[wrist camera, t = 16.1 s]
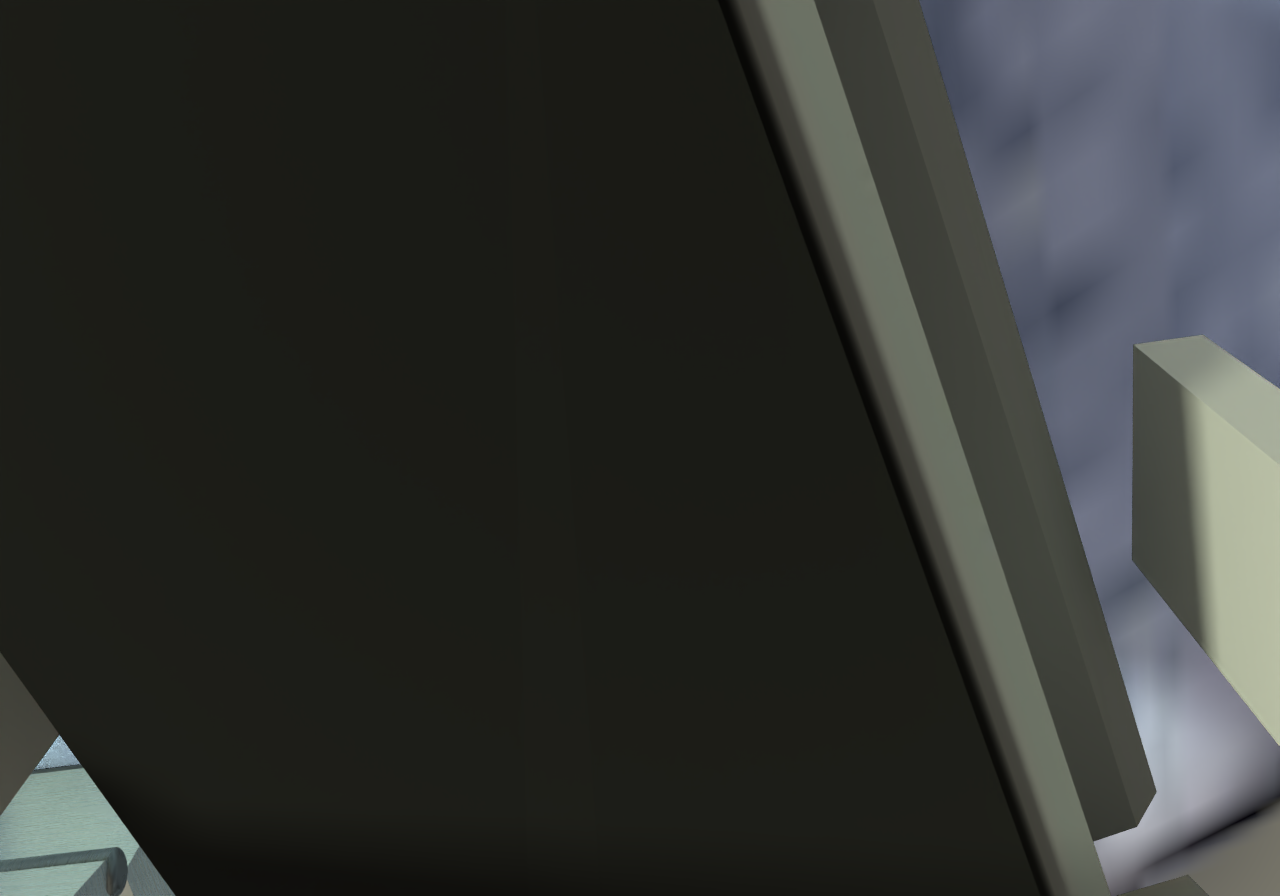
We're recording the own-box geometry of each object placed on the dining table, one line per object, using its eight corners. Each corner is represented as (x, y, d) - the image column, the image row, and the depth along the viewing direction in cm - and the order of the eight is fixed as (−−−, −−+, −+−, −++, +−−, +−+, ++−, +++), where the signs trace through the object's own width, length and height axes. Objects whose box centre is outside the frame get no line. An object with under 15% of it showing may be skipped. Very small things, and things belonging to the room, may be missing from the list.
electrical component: (957, 466, 31) (1392, 1242, 13) (589, 596, 33) (504, 1452, 14) (710, -268, 25) (868, -834, 6) (271, -62, 26) (-611, -45, 8)
